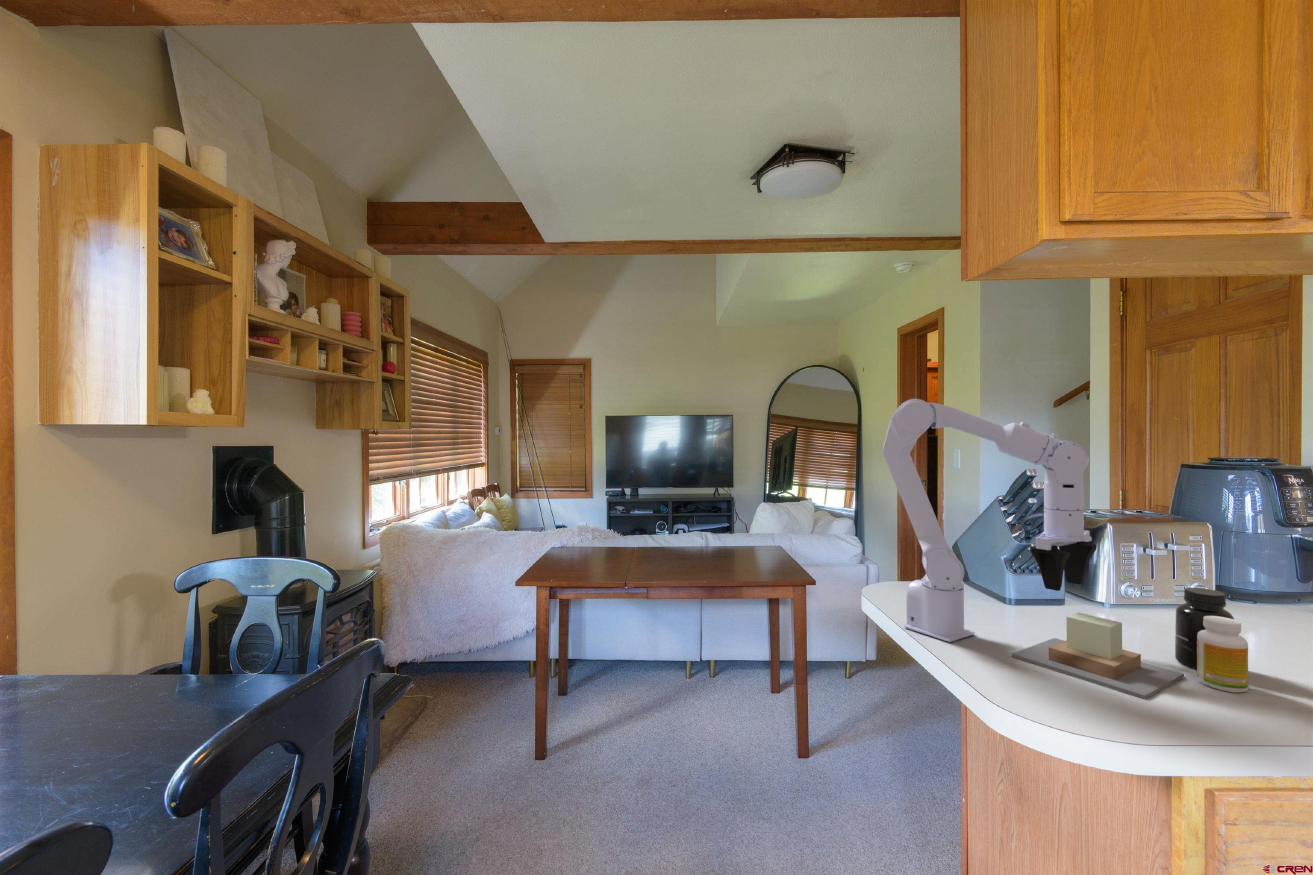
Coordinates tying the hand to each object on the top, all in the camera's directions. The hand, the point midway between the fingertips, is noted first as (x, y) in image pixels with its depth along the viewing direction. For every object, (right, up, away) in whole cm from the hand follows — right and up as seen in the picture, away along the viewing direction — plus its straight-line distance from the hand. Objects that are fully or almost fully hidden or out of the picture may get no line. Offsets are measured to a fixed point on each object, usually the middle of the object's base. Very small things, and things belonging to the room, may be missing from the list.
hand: (1063, 586), depth 101 cm
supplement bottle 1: (+16, -11, -9) cm, 21 cm away
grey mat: (-2, -11, -9) cm, 14 cm away
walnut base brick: (-2, -11, -9) cm, 14 cm away
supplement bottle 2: (+12, -11, -16) cm, 23 cm away
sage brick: (-2, -8, -9) cm, 12 cm away
